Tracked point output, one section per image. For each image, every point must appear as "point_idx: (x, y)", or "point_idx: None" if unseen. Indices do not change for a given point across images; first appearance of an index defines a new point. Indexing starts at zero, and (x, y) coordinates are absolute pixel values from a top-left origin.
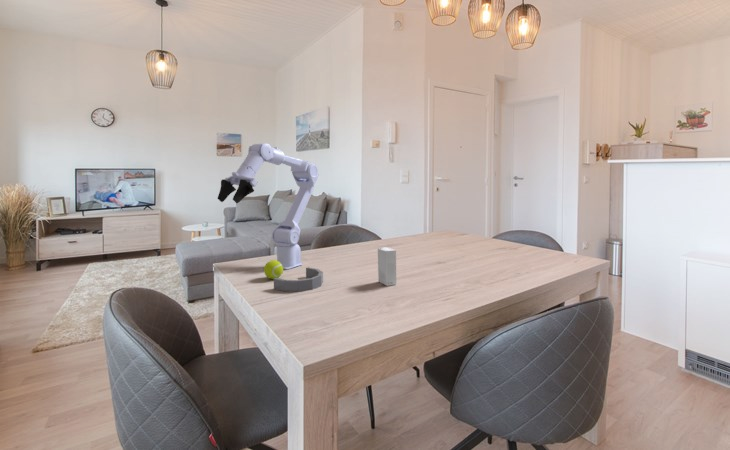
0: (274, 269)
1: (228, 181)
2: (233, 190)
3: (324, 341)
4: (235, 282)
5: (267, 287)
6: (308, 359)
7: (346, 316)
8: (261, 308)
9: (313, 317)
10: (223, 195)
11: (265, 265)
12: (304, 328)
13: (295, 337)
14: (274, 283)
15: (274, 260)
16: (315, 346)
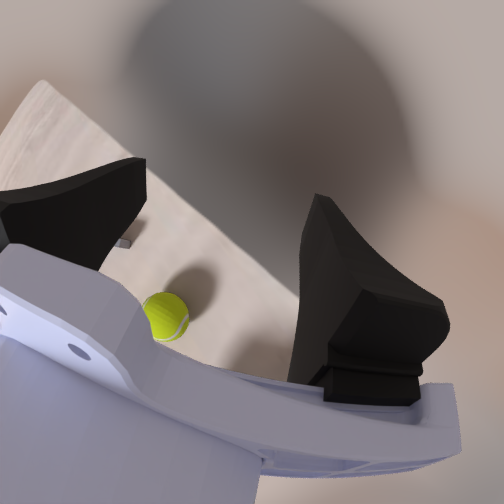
0: (148, 298)
1: (366, 394)
2: (288, 380)
3: (28, 112)
4: (240, 255)
5: (148, 246)
6: (38, 82)
7: (14, 176)
8: (108, 145)
9: (41, 154)
10: (310, 243)
11: (175, 305)
12: (45, 123)
13: (50, 103)
14: (123, 239)
15: (154, 323)
16: (34, 101)
